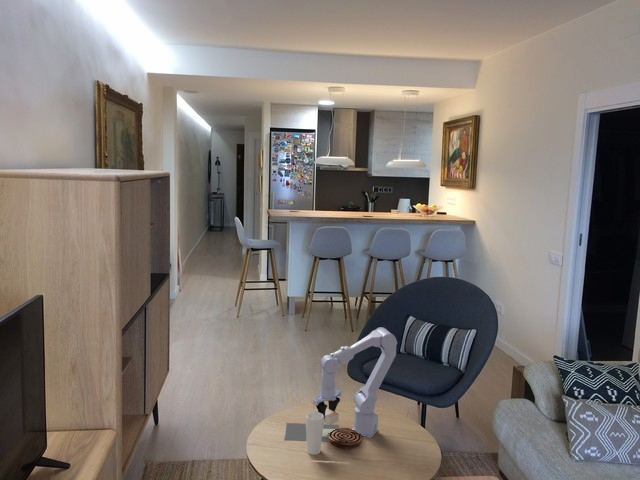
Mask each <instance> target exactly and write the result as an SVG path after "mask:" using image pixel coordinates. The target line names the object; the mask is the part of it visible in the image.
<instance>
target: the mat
mask: <svg viewBox="0 0 640 480" xmlns="http://www.w3.org/2000/svg"><path fill="white" fill-rule="evenodd" d="M335 429H339V430H340V426H339V424H331V425H328V424H326V423H324V426H323V434H322V441H321V443H331V442H330V441H329V439H328V437H327V435H328V433H330V432H332V431H333V430H335ZM284 441H292V442H295V441H296V442H307V440H306V423H295V422H294V423H293V422H286V427H285V435H284Z"/></svg>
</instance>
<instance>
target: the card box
mask: <svg viewBox="0 0 640 480" xmlns="http://www.w3.org/2000/svg"><path fill="white" fill-rule="evenodd" d="M314 412H318V409H317V408H316V409H315V410H314ZM339 415H340V413H338V412H336V411H335V412H334V411H332V410H330V409H329V407H327V408H326V411H325V418H324V424H325V425H335V424H336V423H339Z"/></svg>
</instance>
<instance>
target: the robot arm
mask: <svg viewBox="0 0 640 480" xmlns="http://www.w3.org/2000/svg"><path fill="white" fill-rule="evenodd" d="M397 345H398V341H397V338H396V336H395V335H394V334H393V333H391V332H390V331H389V330H388V329H387V328H385V327H377V328H376V329H374V330H372V331H371V332H370V333H369V334H368V335H366V336H365V337H363V338H361V340H358V341H357V342H355V343H354V344H352V345H350V346H347V345H345V346H343V345H342V346H340V348H339V349H338V350H336V351H334V352H332V353H329V354H326V355H324V356H322V358H321V360H320V361H319V364H320V366H321V367H322V368H321V379H320V380H321V382H320V394H319V395H318V396H317V397H316V398H314V399H312V405H314V406H315V407H316V410H317V409H318V412H319V413H322V414H323V416H324V418H325V411H326V408H328V409H330V410H332V411H334V412H336V409H337V407H338V404H339V403H340V402H341V399H340V397H341V396H342V391H341V390H339V389H336V377H337V376H336V374H337V370H338V369H339V367H341V366H342V365H344V364H345V363H347V362H349V361H351V360H353V359H354V358H355V355H356V354H358V353H360V352H361V351H364V350H366V349H369V348H371V347H375V348H380V351H381V354H380V356H379V358H378V360H377V362H376V364H375V365H374V367H373V369H372V371H371V373H370V375H369V378H368V379H367V381H366V383H365V385H364V386H361V387H360V389H359V390H358V391H357V392H356V393H354V396H353V402H354V403H355V408H354V422H353V427H352V428H351V429H352V430H355V431H357V432H358V433H359V434H361V435H360V436H361V437H362V436H363V437H366V438H369V439H371V438H372V437H373V436H374V435H375V434H376V433H377V432H378V431H379V428H378V427H379V414H378V413H376V412H374V411H375V408H376V402H377V392H378V390H379V388H380V387H381V384H382V383H383V381H384V379H385V377H386V375H387V374H388V371H389V369H390V367H391V365H392V363H393V362H394V361H395V358H396V356H397ZM325 402H327V403H328V405H327V404H326V403H325ZM359 434H358V435H359Z"/></svg>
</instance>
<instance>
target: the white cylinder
mask: <svg viewBox="0 0 640 480" xmlns="http://www.w3.org/2000/svg"><path fill="white" fill-rule="evenodd" d="M305 424H306V440H307V441H306V453H307V454H309V455H311V456H317V455H319V454H320V453H321V450H322V442H321V441H322V434H323V426H324V424H325V422H324V416H323V414H322V413H319V412H315V411H310V412H308V413H307V414H306V417H305Z"/></svg>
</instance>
